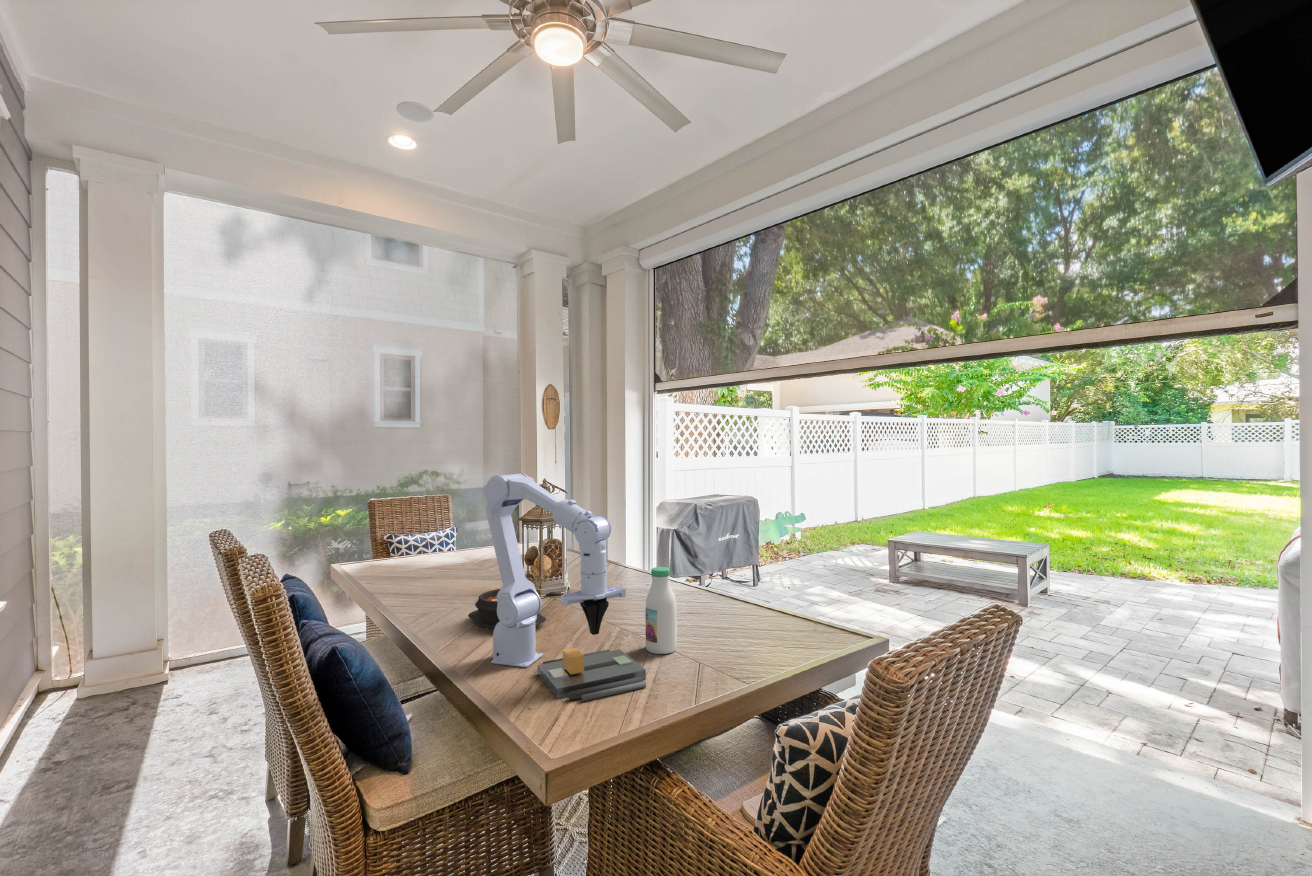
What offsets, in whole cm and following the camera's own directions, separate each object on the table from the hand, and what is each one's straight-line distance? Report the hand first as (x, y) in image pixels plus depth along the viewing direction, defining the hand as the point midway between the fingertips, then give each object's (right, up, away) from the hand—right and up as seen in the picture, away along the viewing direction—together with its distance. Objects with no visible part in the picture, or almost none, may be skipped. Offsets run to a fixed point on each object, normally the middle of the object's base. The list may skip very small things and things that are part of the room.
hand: (594, 633), depth 131 cm
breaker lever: (-4, -7, -2) cm, 9 cm away
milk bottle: (+15, -9, +16) cm, 24 cm away
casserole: (-29, -10, +37) cm, 48 cm away
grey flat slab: (-1, -9, 0) cm, 9 cm away
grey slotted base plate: (-1, -9, 0) cm, 9 cm away
